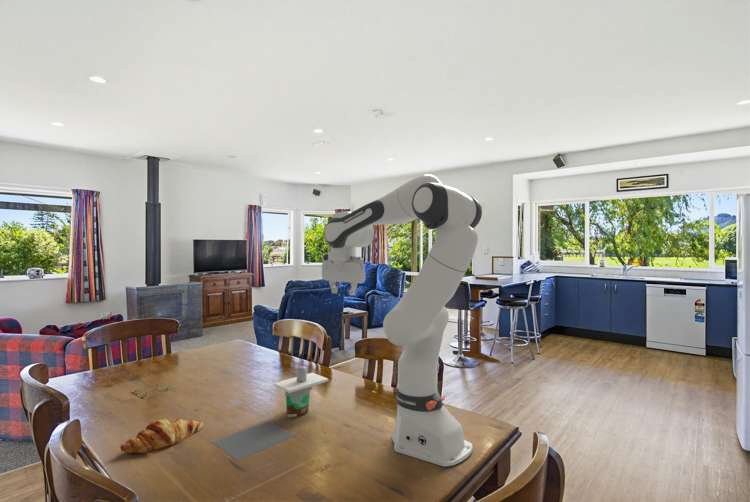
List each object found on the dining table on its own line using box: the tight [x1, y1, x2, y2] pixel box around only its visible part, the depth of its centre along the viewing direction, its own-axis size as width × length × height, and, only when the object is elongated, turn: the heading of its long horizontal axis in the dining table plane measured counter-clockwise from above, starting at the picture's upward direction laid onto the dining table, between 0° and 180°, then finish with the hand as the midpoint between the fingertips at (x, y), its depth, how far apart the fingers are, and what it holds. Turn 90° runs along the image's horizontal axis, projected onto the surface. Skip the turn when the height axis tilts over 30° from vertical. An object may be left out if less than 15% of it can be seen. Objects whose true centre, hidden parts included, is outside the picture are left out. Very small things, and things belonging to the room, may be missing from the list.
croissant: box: [120, 418, 204, 454], centre depth 112 cm, size 21×10×8 cm, turn 137°
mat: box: [211, 420, 296, 461], centre depth 113 cm, size 14×18×1 cm
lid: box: [273, 365, 329, 393], centre depth 130 cm, size 9×15×5 cm, turn 135°
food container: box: [284, 386, 313, 419], centre depth 131 cm, size 12×6×10 cm, turn 168°
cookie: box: [131, 383, 177, 399], centre depth 151 cm, size 12×12×1 cm
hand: (343, 294), depth 146 cm, fingers open, 8 cm apart
